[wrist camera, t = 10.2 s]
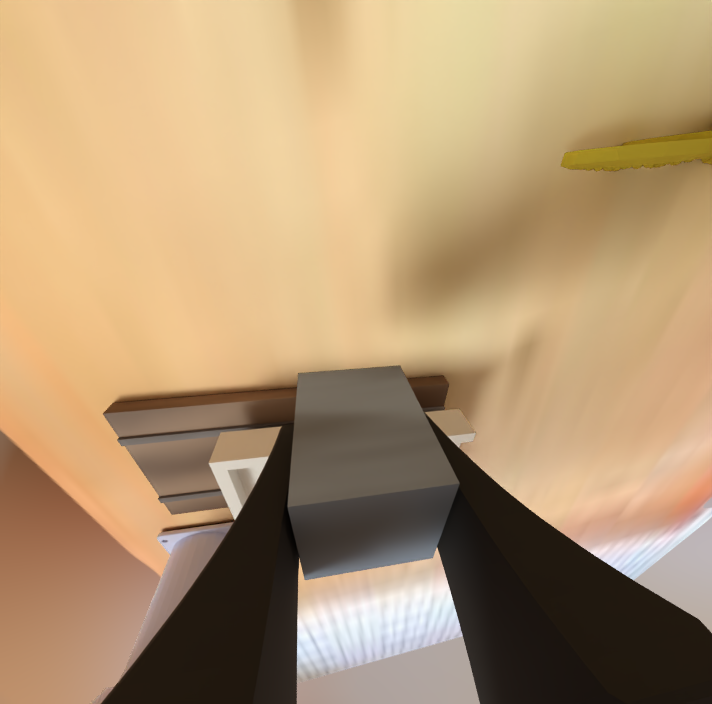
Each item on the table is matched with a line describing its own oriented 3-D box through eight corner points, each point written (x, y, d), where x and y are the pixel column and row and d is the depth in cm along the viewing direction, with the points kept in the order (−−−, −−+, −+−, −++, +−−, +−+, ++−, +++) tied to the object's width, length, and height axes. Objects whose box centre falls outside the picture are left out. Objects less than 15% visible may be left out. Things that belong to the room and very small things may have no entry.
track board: (421, 471, 26) (426, 482, 25) (176, 503, 23) (170, 517, 22) (443, 375, 20) (450, 385, 19) (113, 403, 17) (100, 416, 16)
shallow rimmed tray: (430, 478, 25) (446, 515, 22) (254, 501, 23) (246, 546, 20) (451, 397, 19) (475, 433, 16) (225, 418, 17) (208, 463, 15)
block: (392, 434, 12) (432, 557, 8) (307, 443, 12) (304, 580, 8) (400, 365, 10) (459, 483, 6) (298, 373, 10) (287, 507, 6)
